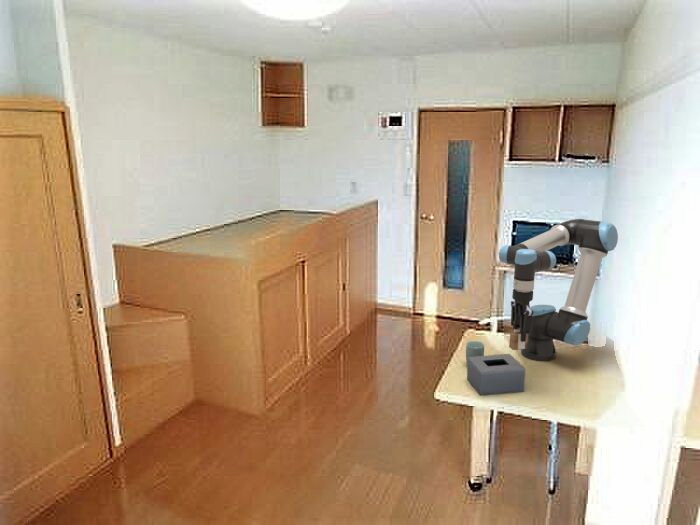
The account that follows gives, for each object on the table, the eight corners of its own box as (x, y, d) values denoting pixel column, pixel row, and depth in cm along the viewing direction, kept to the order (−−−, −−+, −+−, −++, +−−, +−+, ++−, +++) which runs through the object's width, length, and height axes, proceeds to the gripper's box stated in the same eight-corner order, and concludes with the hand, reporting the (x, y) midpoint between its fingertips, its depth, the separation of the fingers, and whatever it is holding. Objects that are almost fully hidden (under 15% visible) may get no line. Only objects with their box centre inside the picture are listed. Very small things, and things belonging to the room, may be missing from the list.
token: (523, 346, 205) (524, 331, 204) (526, 349, 202) (528, 334, 201) (509, 347, 204) (510, 332, 203) (512, 349, 201) (514, 335, 200)
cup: (483, 370, 222) (485, 348, 219) (465, 368, 223) (466, 347, 221) (483, 362, 229) (484, 341, 227) (465, 361, 231) (466, 340, 228)
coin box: (507, 375, 216) (509, 353, 214) (523, 391, 203) (525, 368, 200) (466, 379, 214) (467, 357, 211) (480, 395, 200) (481, 372, 198)
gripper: (504, 284, 205) (500, 339, 210) (524, 296, 189) (520, 355, 195) (521, 283, 206) (517, 338, 212) (543, 295, 191) (538, 354, 196)
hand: (518, 346), depth 203 cm, fingers closed on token, 3 cm apart
